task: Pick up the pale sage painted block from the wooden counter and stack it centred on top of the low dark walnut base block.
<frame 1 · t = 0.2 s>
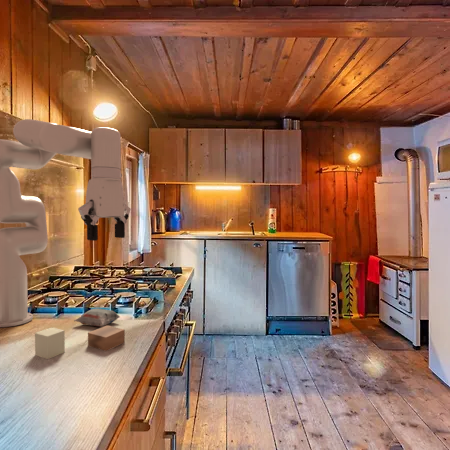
hand: (106, 238, 93), 30 cm above the countertop, fingers open, 9 cm apart
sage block: (50, 353, 91), on the countertop
walnut base: (106, 344, 98), on the countertop
packaged food: (97, 325, 114), on the countertop
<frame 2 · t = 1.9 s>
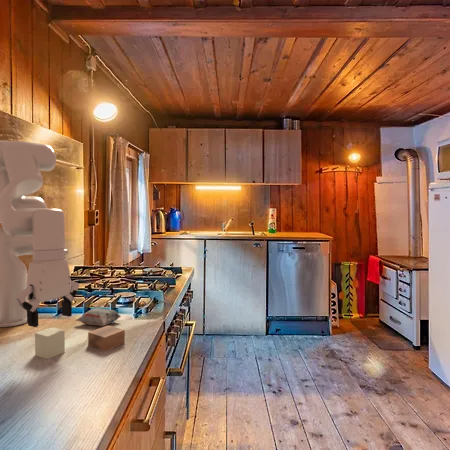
hand: (50, 320, 90), 9 cm above the countertop, fingers open, 9 cm apart
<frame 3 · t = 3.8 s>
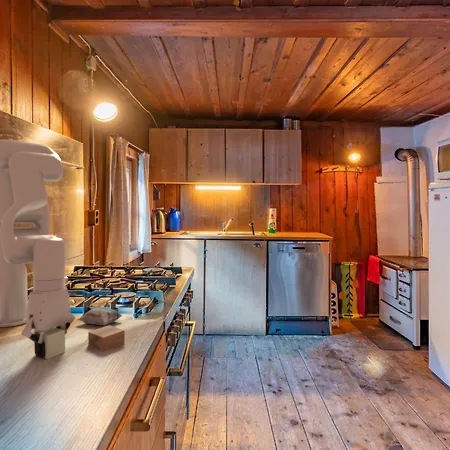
hand: (50, 351, 91), 0 cm above the countertop, fingers closed on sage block, 5 cm apart
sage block: (50, 353, 91), on the countertop, touching gripper
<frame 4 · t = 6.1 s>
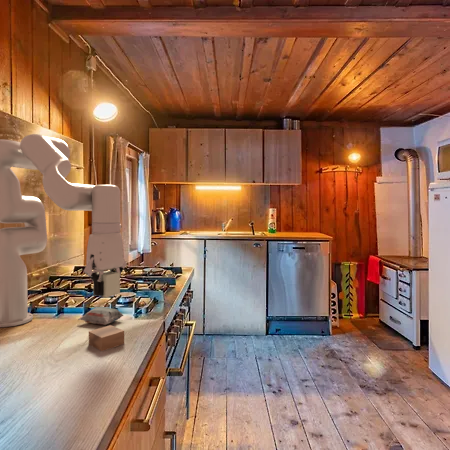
hand: (106, 292, 98), 15 cm above the countertop, fingers closed on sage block, 5 cm apart
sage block: (106, 294, 98), point 14 cm above the countertop, touching gripper
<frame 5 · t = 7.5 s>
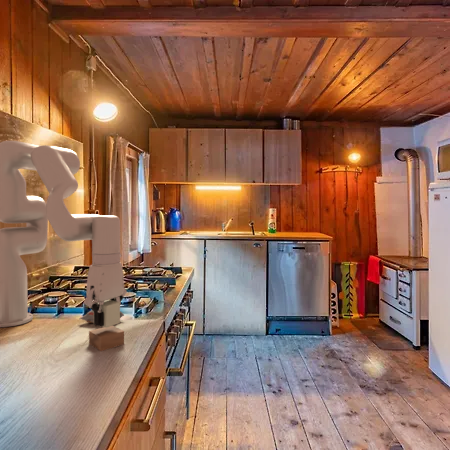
hand: (106, 321, 98), 6 cm above the countertop, fingers closed on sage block, 5 cm apart
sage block: (107, 323, 98), point 6 cm above the countertop, touching gripper
when the fingers open (6 cm above the countertop, at t = 8.4 s): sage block drops 2 cm, resting on walnut base.
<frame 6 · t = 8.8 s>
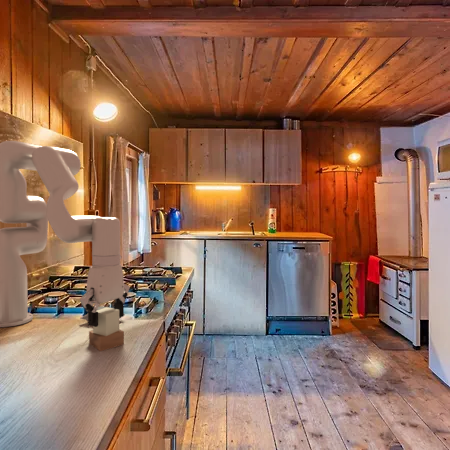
hand: (106, 320, 98), 7 cm above the countertop, fingers open, 9 cm apart
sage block: (106, 331, 98), point 4 cm above the countertop, touching walnut base
walnut base: (106, 345, 98), on the countertop, touching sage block
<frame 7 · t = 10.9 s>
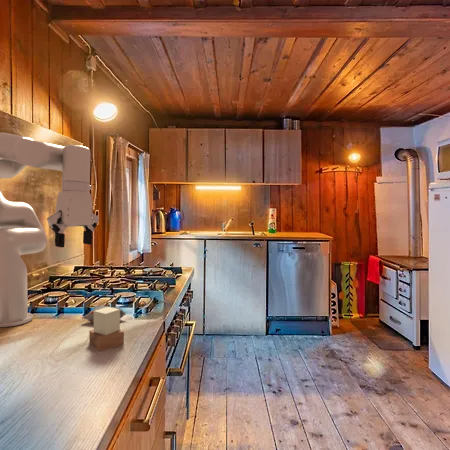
hand: (74, 245, 103), 27 cm above the countertop, fingers open, 9 cm apart
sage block: (106, 330, 98), point 4 cm above the countertop
walnut base: (106, 344, 98), on the countertop
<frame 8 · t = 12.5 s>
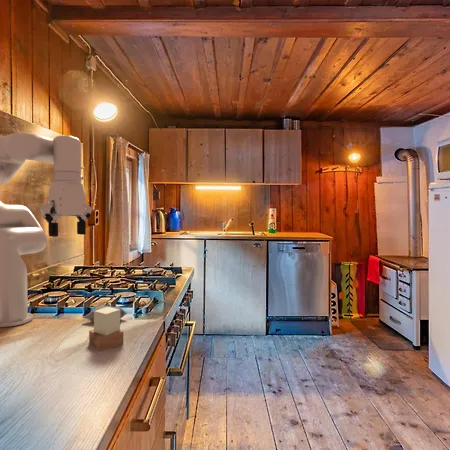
hand: (68, 235, 104), 30 cm above the countertop, fingers open, 9 cm apart
at the end: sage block 0.3 cm off-centre on the walnut base, point 4.0 cm above the walnut base's base; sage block tilted 0°; walnut base moved 0.4 cm from its start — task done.
